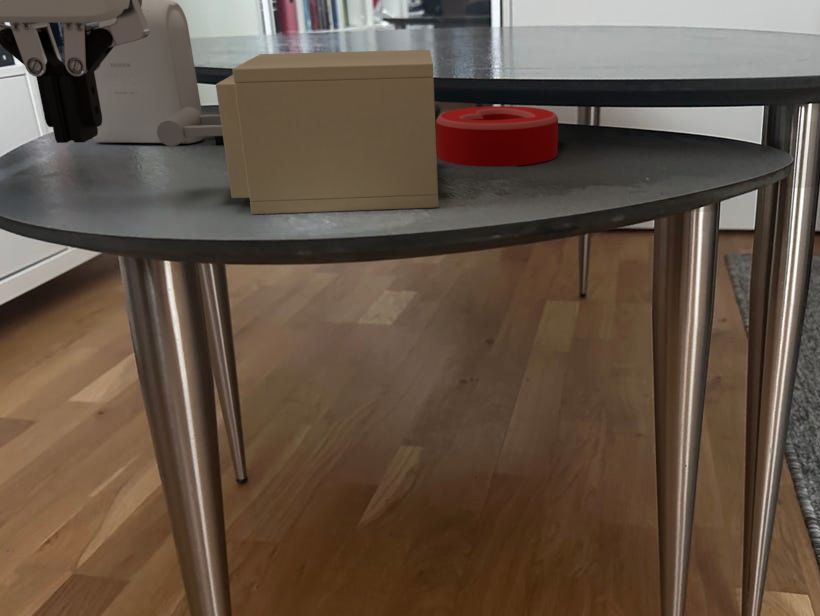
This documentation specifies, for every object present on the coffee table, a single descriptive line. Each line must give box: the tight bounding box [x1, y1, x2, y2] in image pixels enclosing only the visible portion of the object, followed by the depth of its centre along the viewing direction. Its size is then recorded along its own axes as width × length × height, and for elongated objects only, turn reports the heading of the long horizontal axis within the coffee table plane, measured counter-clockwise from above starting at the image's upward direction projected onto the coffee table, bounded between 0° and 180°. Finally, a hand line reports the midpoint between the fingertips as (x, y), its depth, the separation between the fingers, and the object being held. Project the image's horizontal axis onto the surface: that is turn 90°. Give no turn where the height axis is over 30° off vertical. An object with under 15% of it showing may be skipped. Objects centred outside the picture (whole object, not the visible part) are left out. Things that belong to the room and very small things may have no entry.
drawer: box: [157, 74, 250, 199], centre depth 55 cm, size 15×8×7 cm, turn 94°
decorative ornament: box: [435, 105, 559, 167], centre depth 68 cm, size 10×10×3 cm
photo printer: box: [92, 0, 205, 145], centre depth 74 cm, size 10×4×12 cm, turn 78°
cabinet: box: [232, 49, 440, 215], centre depth 55 cm, size 12×10×9 cm
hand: (77, 138), depth 55 cm, fingers closed
